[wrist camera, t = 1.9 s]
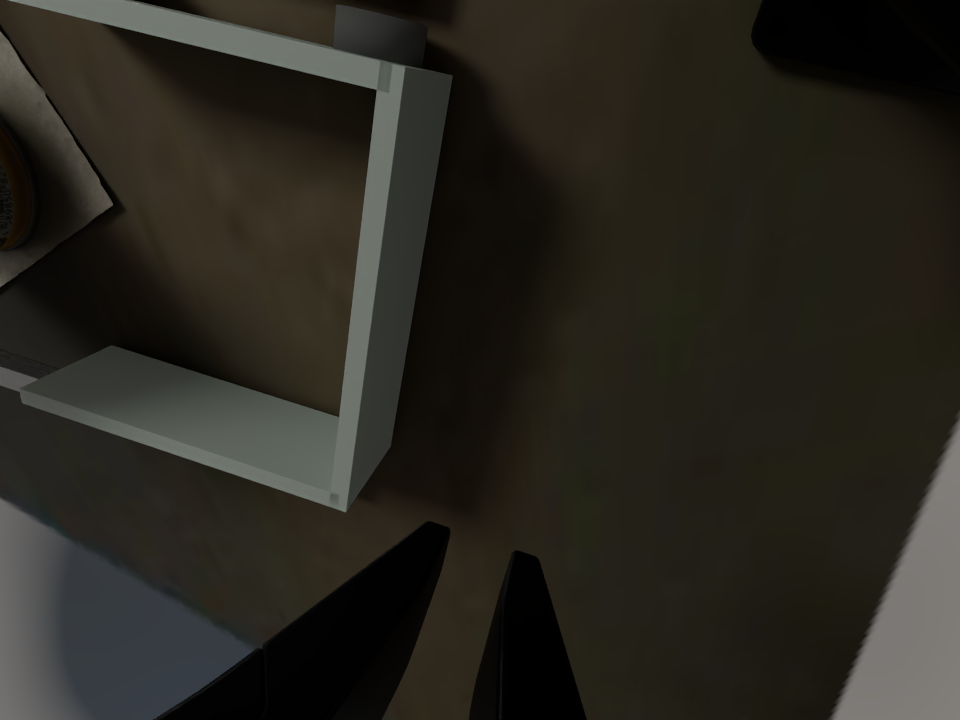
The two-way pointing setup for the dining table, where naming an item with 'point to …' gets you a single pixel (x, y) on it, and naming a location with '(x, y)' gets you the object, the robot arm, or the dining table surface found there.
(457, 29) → the dining table surface
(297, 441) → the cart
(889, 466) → the dining table surface
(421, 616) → the robot arm
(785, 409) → the dining table surface
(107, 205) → the condiment
